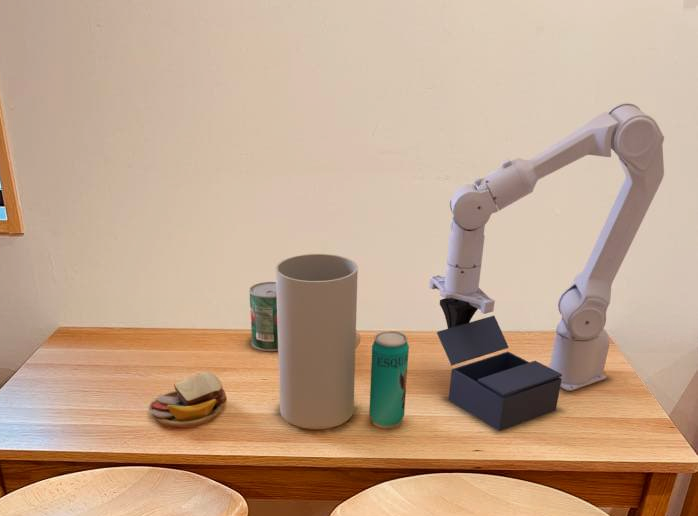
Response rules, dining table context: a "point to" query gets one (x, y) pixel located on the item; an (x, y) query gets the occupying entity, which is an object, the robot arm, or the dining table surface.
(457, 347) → the flap
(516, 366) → the carton
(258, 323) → the canned tomato
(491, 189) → the robot arm
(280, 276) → the cylinder vase
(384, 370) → the beverage can
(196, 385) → the toy sandwich meal
